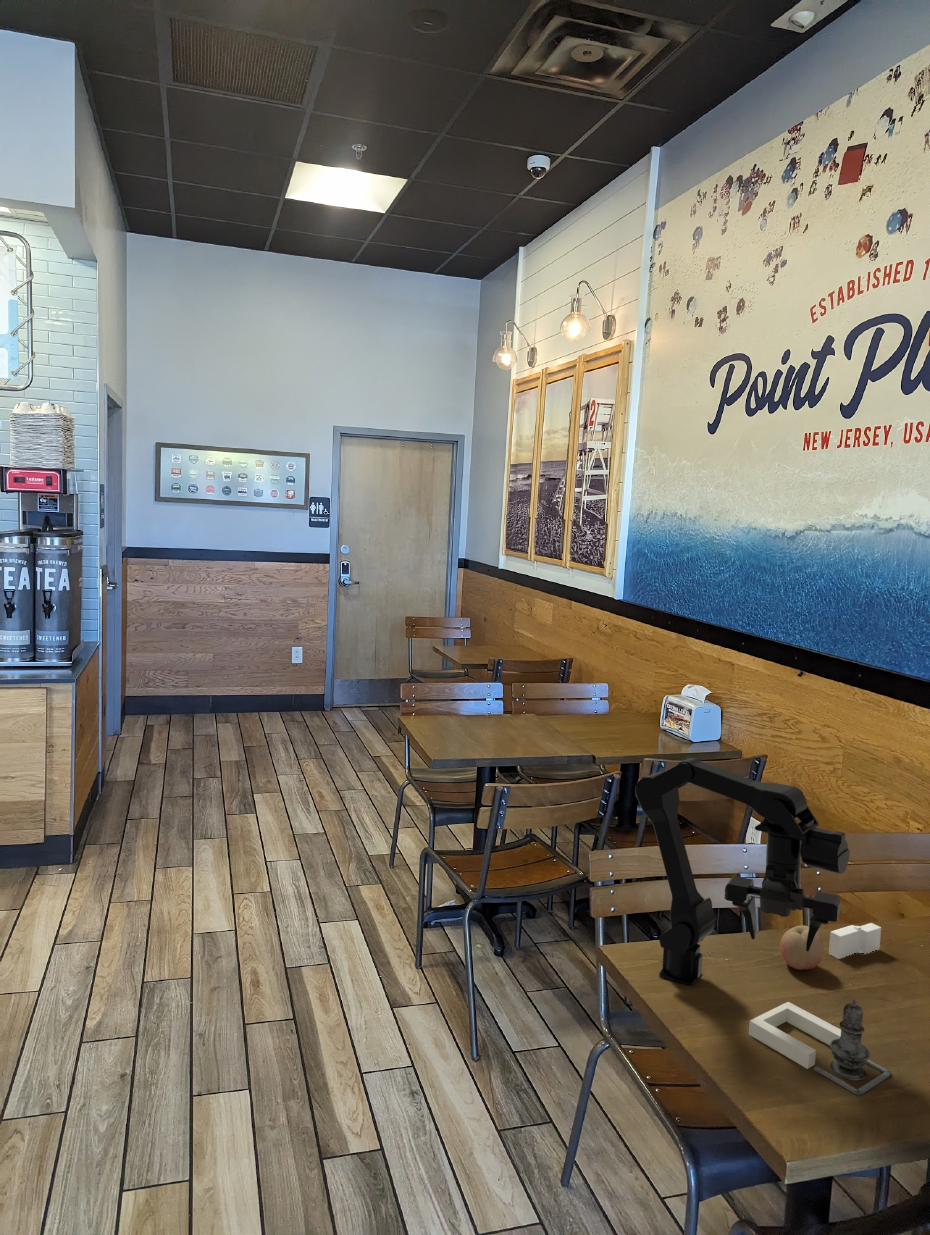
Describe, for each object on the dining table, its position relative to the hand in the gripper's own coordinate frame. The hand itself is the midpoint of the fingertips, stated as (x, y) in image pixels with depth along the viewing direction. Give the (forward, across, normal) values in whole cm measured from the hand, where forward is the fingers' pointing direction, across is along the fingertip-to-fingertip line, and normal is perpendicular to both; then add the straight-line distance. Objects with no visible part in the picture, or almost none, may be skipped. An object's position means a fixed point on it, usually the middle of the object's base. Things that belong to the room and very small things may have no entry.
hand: (780, 944), depth 154 cm
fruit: (+13, +1, +20) cm, 24 cm away
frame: (+14, +13, -11) cm, 22 cm away
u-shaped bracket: (+13, +4, -7) cm, 15 cm away
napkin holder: (+14, +10, +33) cm, 37 cm away
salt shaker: (+14, +13, -11) cm, 21 cm away
